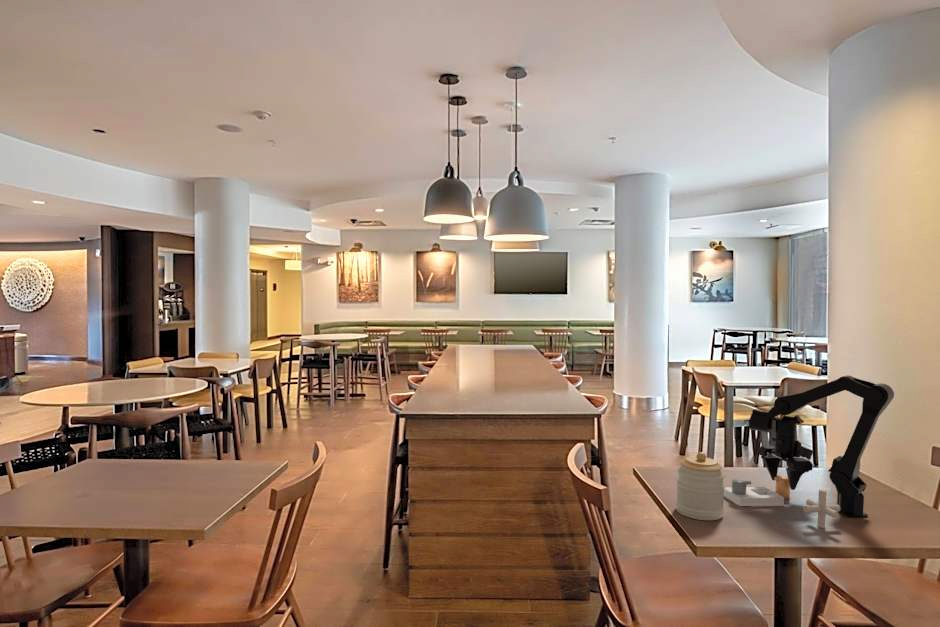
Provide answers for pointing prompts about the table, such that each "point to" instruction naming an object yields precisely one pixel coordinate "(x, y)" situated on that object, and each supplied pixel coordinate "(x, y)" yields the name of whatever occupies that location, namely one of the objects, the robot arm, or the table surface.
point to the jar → (700, 488)
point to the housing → (752, 495)
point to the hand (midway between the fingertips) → (783, 484)
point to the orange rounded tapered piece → (782, 486)
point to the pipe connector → (821, 508)
